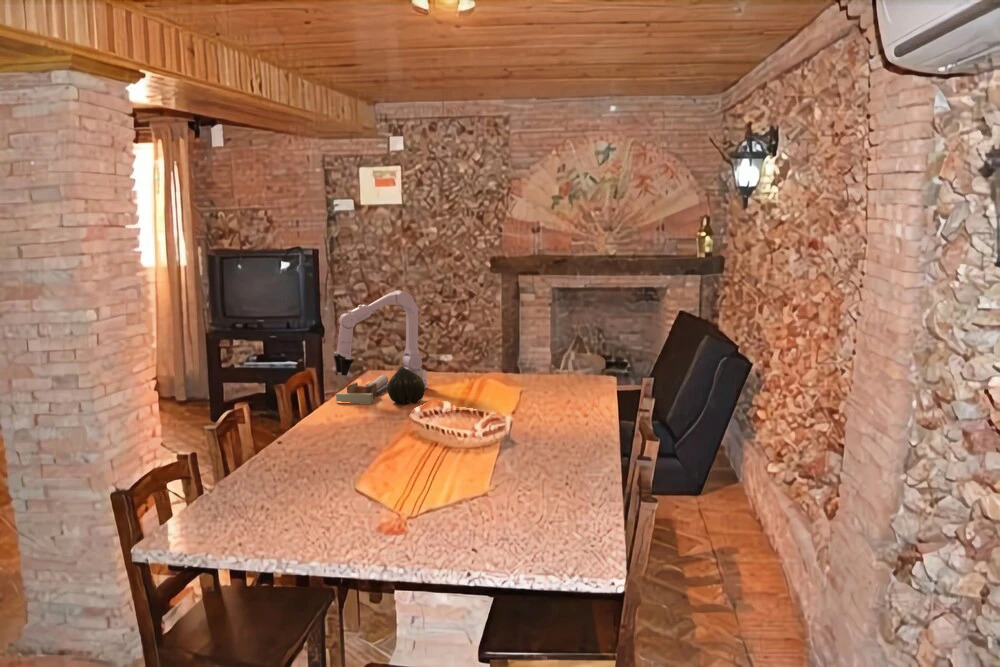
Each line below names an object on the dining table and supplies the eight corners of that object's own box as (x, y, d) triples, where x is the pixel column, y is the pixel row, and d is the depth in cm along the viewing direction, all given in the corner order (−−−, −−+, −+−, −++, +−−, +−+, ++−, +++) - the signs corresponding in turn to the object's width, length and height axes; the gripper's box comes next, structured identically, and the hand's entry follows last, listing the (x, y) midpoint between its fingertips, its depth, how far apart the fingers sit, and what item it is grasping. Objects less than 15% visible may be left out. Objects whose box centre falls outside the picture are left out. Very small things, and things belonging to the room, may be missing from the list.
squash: (417, 394, 303) (421, 362, 312) (380, 396, 306) (385, 363, 314) (425, 411, 315) (429, 379, 323) (390, 412, 317) (395, 381, 326)
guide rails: (397, 384, 351) (397, 379, 351) (378, 396, 327) (378, 391, 327) (376, 383, 353) (375, 379, 353) (355, 395, 330) (355, 391, 329)
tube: (377, 375, 353) (361, 386, 328) (387, 371, 352) (372, 382, 327) (381, 386, 353) (366, 398, 329) (391, 382, 353) (377, 394, 328)
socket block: (377, 396, 327) (376, 382, 326) (370, 401, 319) (369, 387, 318) (355, 396, 329) (354, 382, 328) (347, 400, 321) (346, 386, 320)
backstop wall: (373, 402, 315) (372, 393, 315) (370, 404, 313) (370, 394, 312) (339, 402, 319) (338, 392, 318) (336, 403, 316) (336, 394, 316)
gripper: (331, 339, 328) (327, 370, 329) (340, 343, 315) (337, 376, 316) (347, 340, 331) (344, 371, 332) (357, 344, 318) (353, 377, 319)
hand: (341, 373), depth 324 cm, fingers open, 7 cm apart
